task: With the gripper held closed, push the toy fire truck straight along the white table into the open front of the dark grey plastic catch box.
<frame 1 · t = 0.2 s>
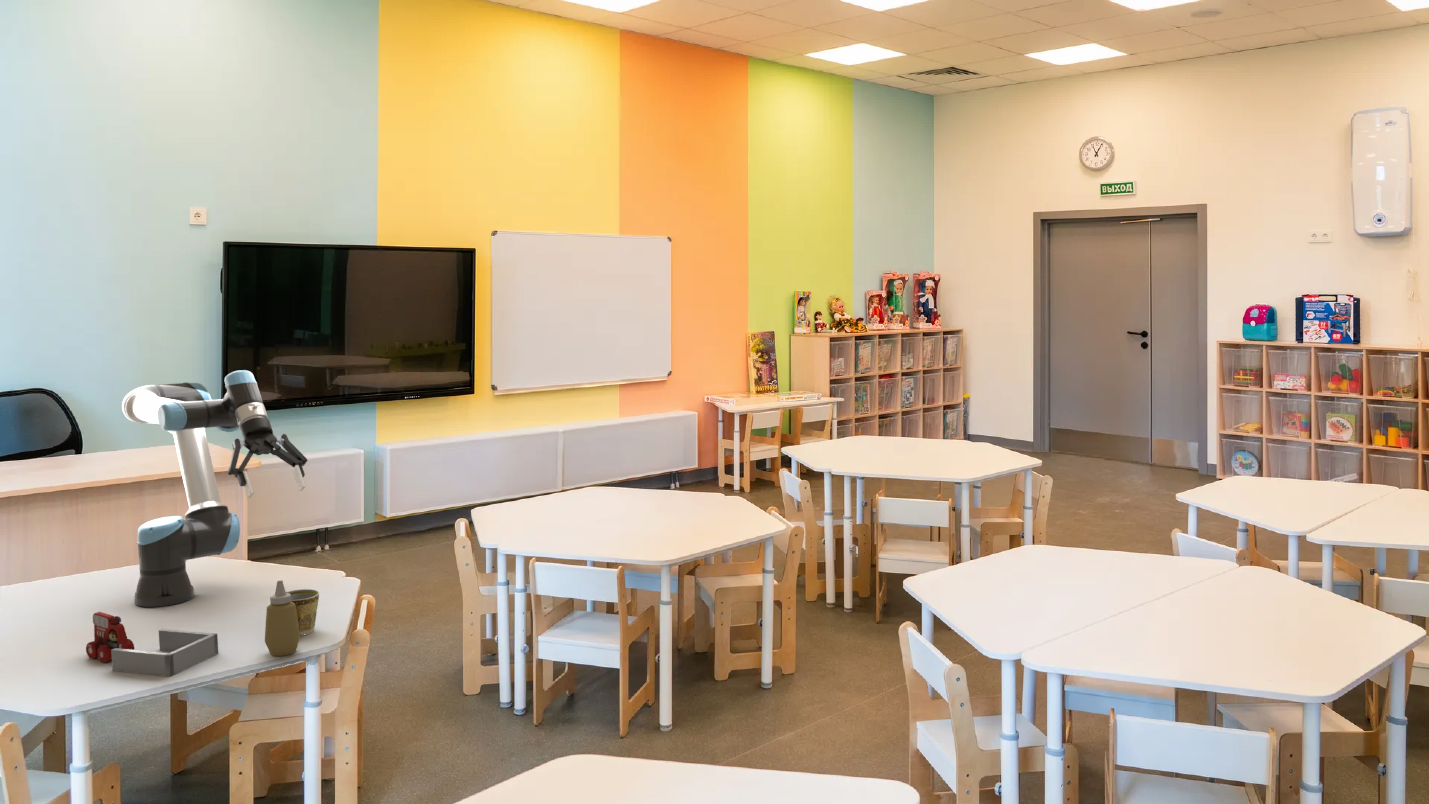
hand: (277, 492, 262), 36 cm above the table, tool tilted 35°, fingers open, 13 cm apart
ceramic cup: (297, 631, 260), on the table
catch box: (166, 661, 238), on the table
toy fire truck: (111, 657, 242), on the table
squeeze bottle: (283, 653, 244), on the table
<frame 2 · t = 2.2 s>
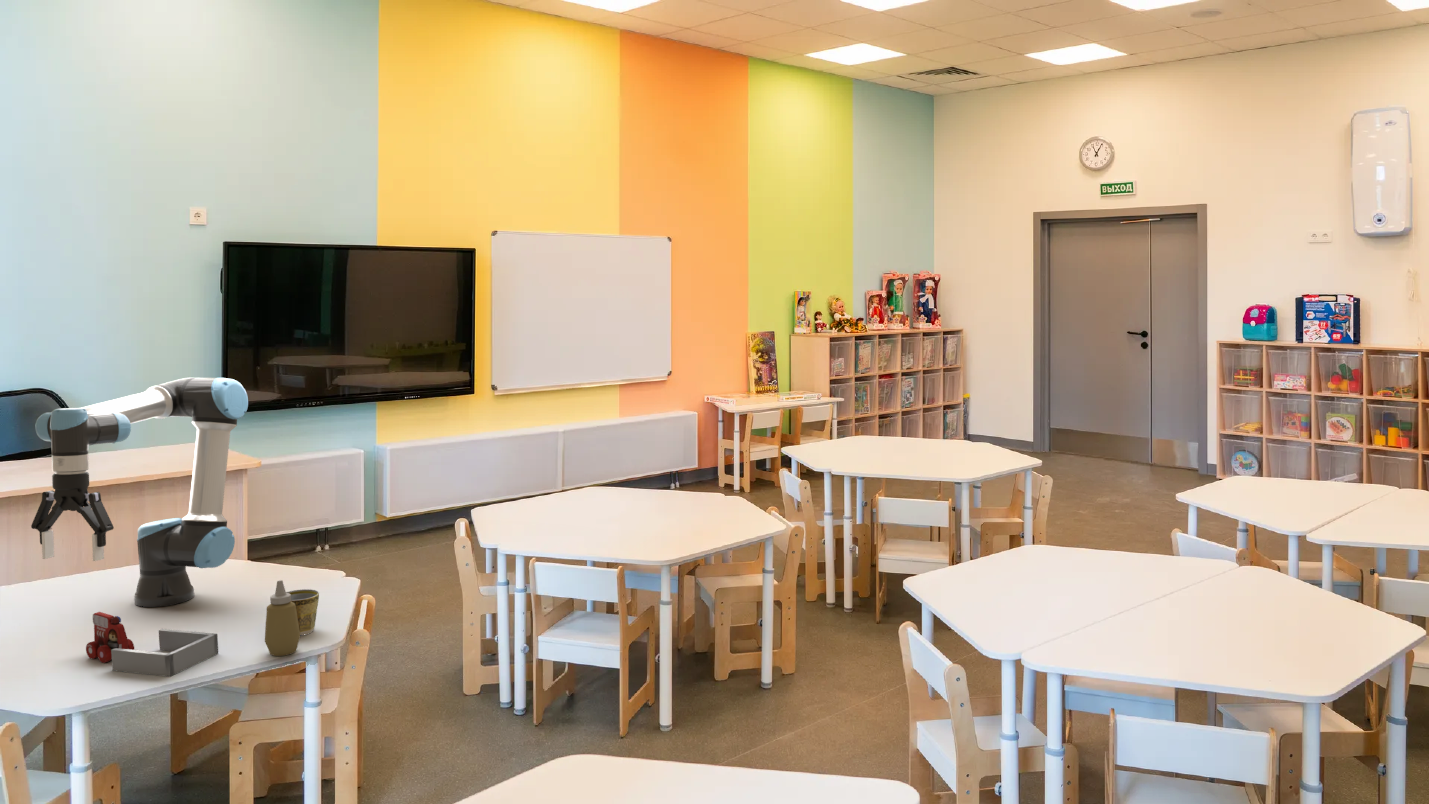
hand: (73, 559, 242), 23 cm above the table, tool pointing down, fingers open, 13 cm apart
nothing on the table moved.
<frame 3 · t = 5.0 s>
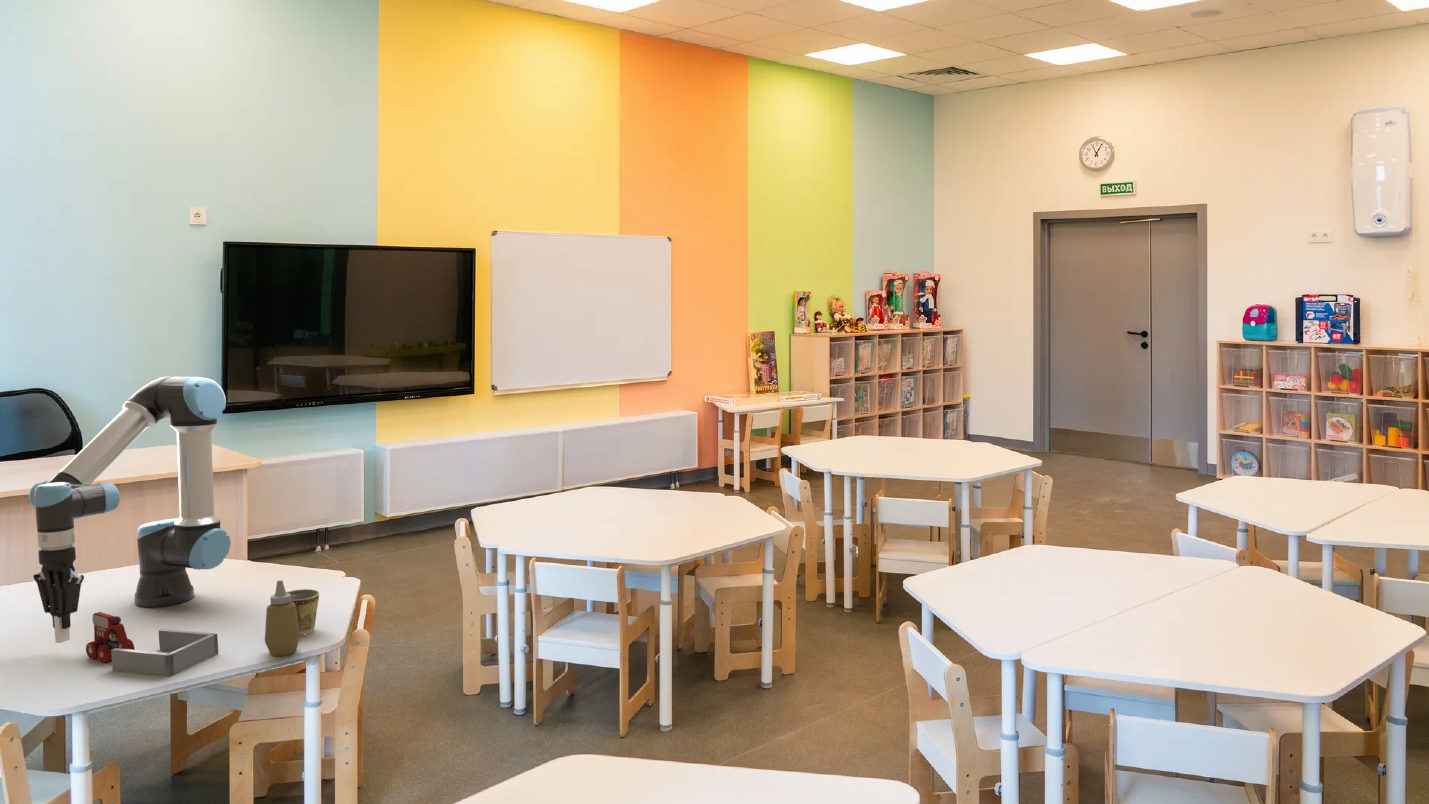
hand: (62, 640, 245), 3 cm above the table, tool pointing down, fingers closed
nothing on the table moved.
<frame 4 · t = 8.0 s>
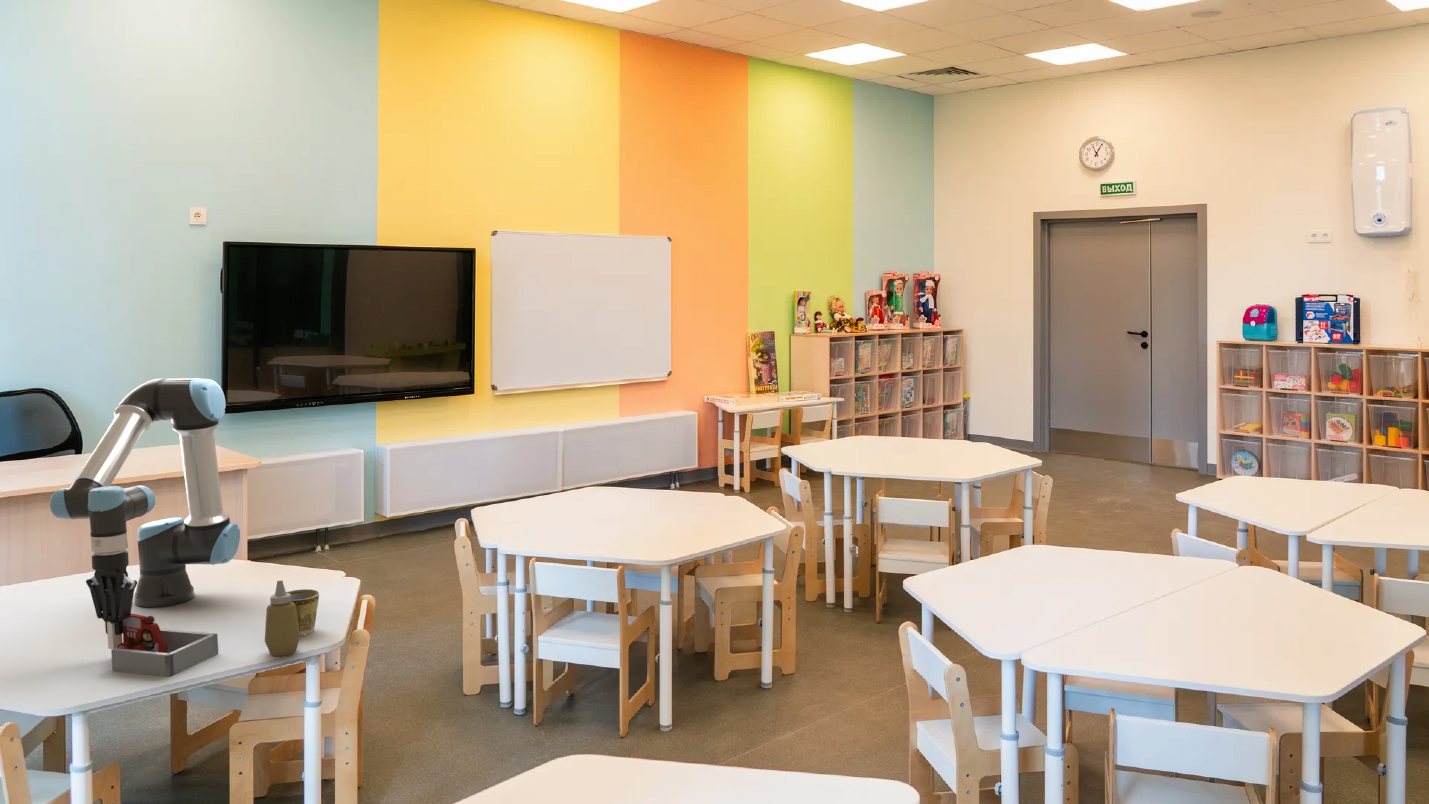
hand: (115, 647, 241), 3 cm above the table, tool pointing down, fingers closed
toy fire truck: (143, 658, 241), on the table
everything else where it was.
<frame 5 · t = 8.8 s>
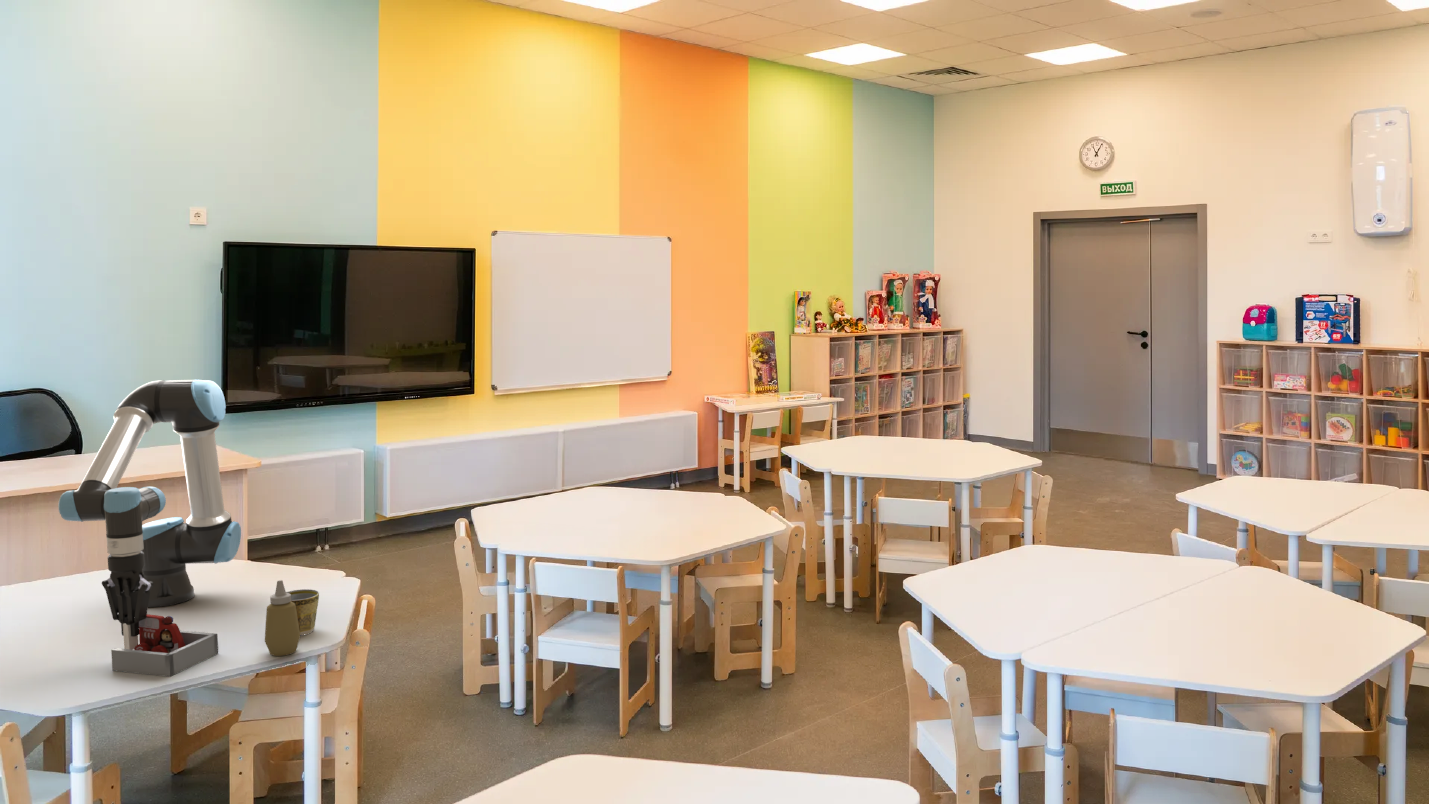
hand: (131, 648, 240), 3 cm above the table, tool pointing down, fingers closed
toy fire truck: (161, 658, 241), on the table, touching gripper
everything else where it was.
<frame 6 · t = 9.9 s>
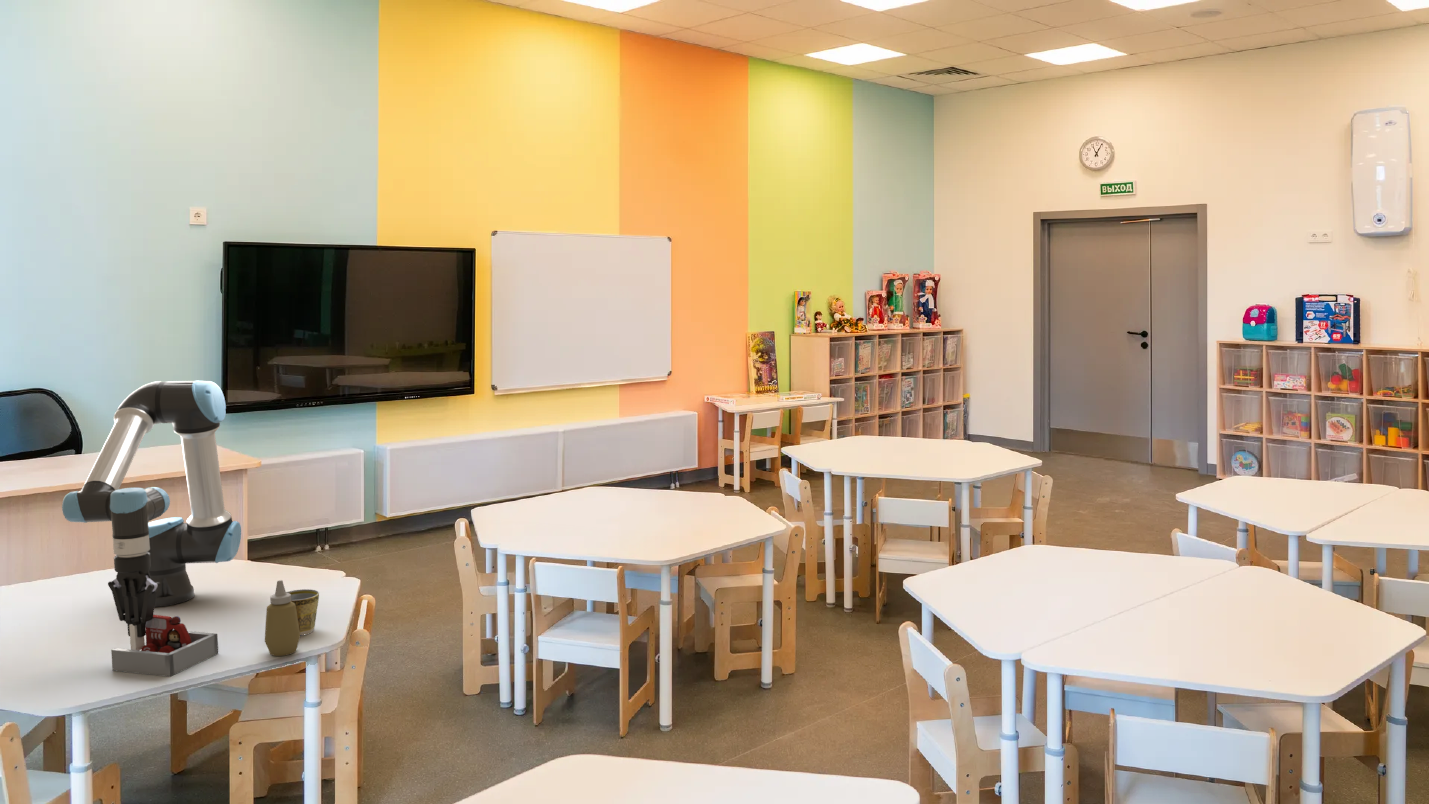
hand: (137, 649, 240), 2 cm above the table, tool pointing down, fingers closed
toy fire truck: (168, 658, 241), on the table
everything else where it was.
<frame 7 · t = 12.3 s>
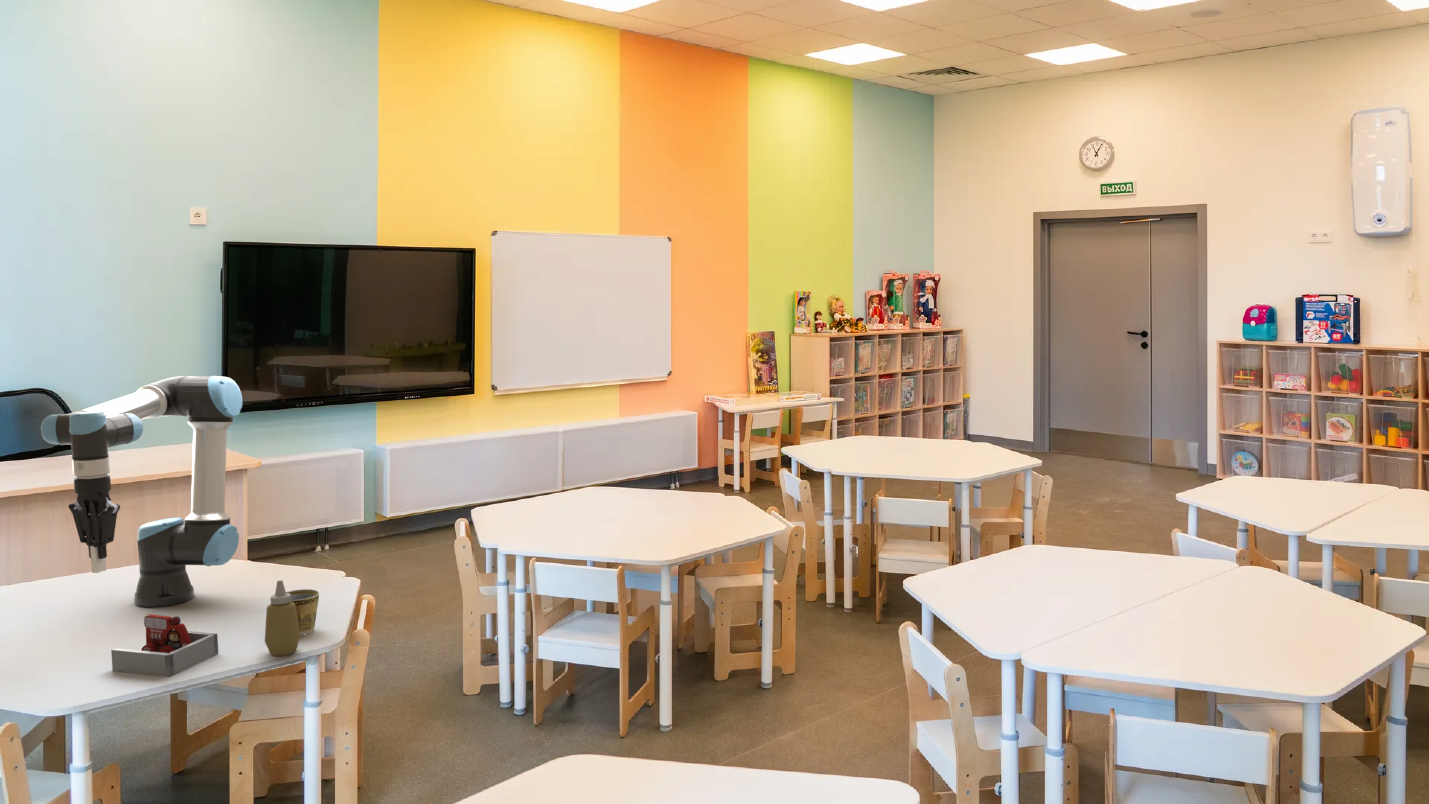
hand: (99, 571, 242), 20 cm above the table, tool pointing down, fingers closed
nothing on the table moved.
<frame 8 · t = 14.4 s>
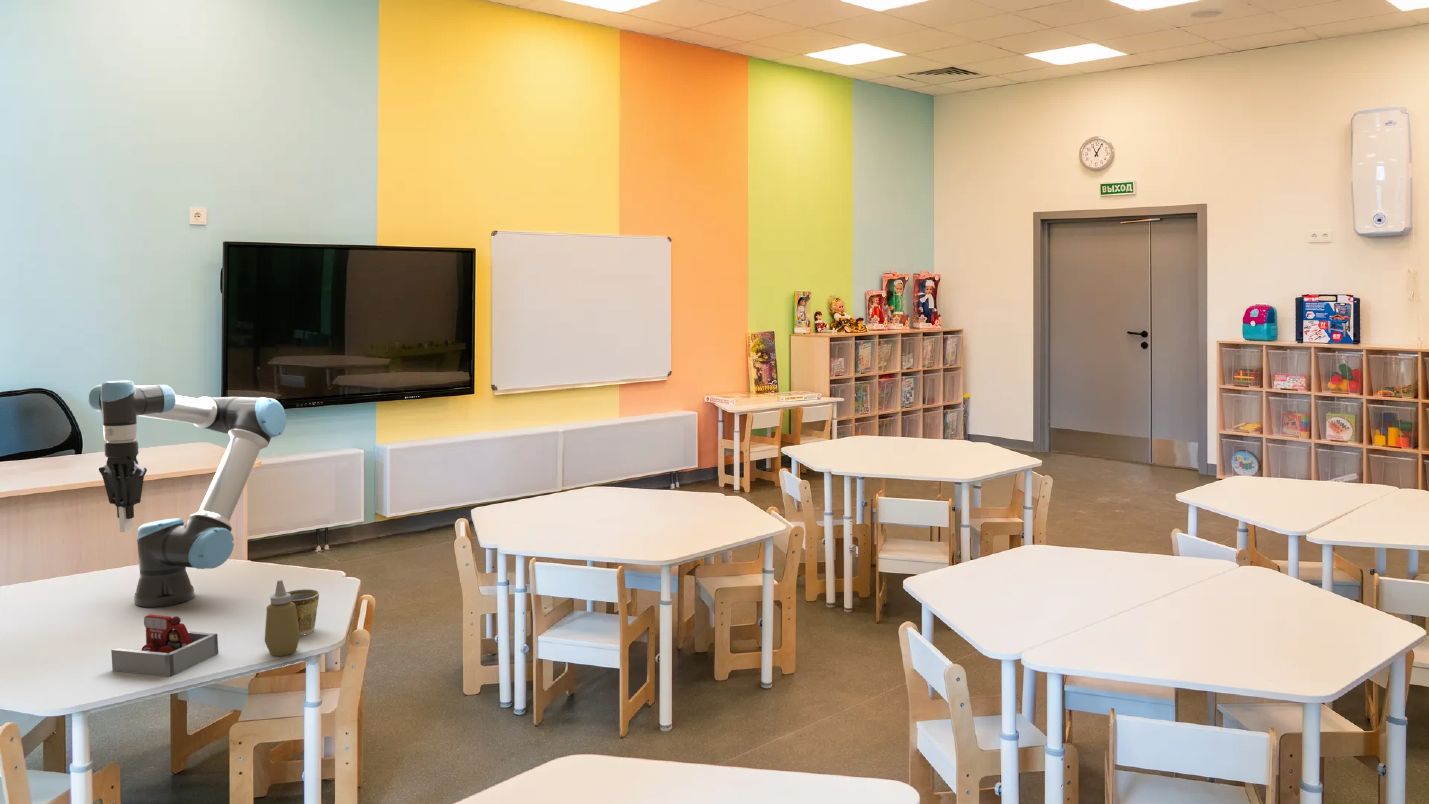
hand: (126, 530, 259), 26 cm above the table, tool pointing down, fingers closed
nothing on the table moved.
at the end: toy fire truck inside the target area (2.9 cm from its centre), on the table; toy fire truck tilted 0° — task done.
